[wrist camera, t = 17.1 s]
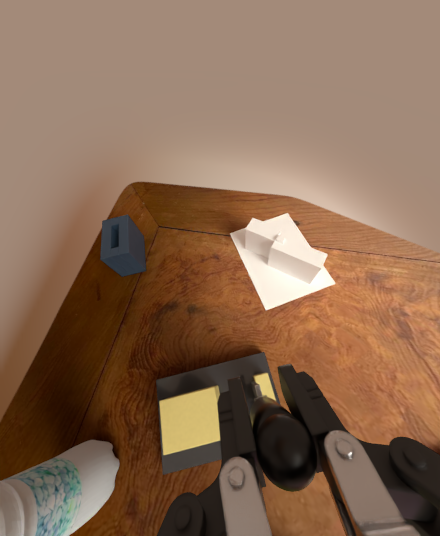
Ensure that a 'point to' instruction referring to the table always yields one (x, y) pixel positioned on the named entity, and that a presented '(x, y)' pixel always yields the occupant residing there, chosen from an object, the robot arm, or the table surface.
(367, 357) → the table surface
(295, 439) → the knife
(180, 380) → the board
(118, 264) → the knife stand
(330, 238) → the table surface
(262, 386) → the butter pat
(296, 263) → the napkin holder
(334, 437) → the robot arm
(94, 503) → the bottle
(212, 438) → the butter block
